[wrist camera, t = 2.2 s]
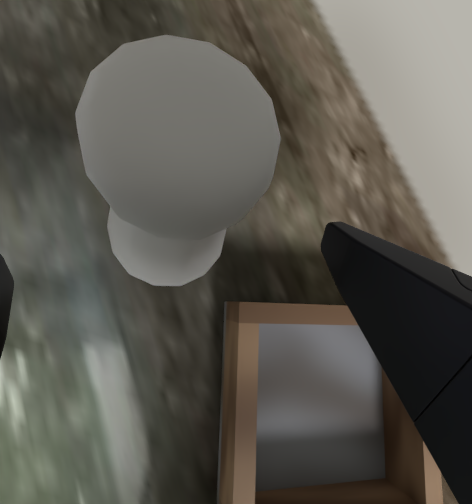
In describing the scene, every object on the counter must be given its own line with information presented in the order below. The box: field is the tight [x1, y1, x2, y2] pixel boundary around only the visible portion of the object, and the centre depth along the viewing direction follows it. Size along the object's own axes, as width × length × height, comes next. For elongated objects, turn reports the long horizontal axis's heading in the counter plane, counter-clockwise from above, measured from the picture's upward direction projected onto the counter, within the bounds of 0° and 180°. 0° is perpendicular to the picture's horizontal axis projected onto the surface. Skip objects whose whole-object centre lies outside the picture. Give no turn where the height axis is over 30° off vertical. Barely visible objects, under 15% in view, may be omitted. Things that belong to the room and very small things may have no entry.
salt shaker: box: [75, 35, 281, 286], centre depth 12 cm, size 6×6×13 cm
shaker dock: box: [217, 301, 443, 504], centre depth 17 cm, size 11×11×4 cm
